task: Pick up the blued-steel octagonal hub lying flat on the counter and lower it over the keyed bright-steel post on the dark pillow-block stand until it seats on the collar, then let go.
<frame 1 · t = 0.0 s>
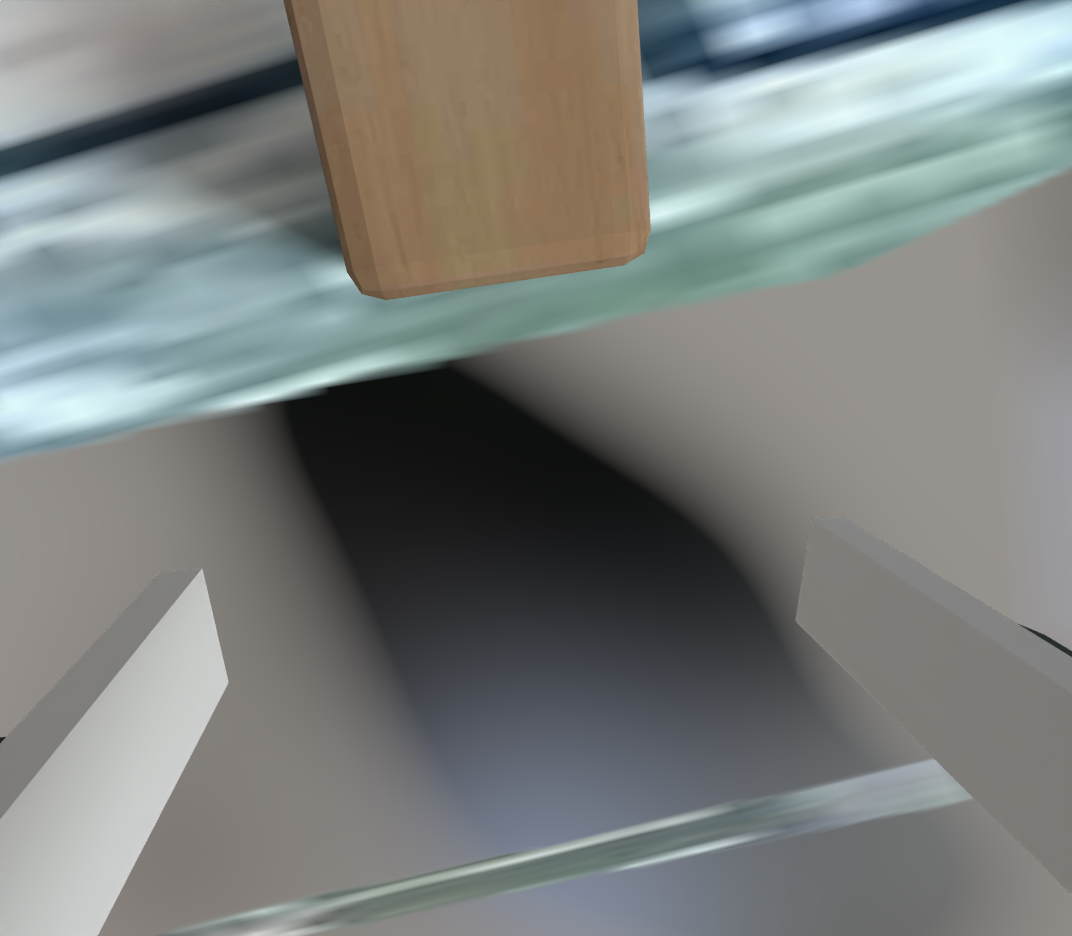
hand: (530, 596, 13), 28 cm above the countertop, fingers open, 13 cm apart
wooden block: (461, 191, 35), on the countertop
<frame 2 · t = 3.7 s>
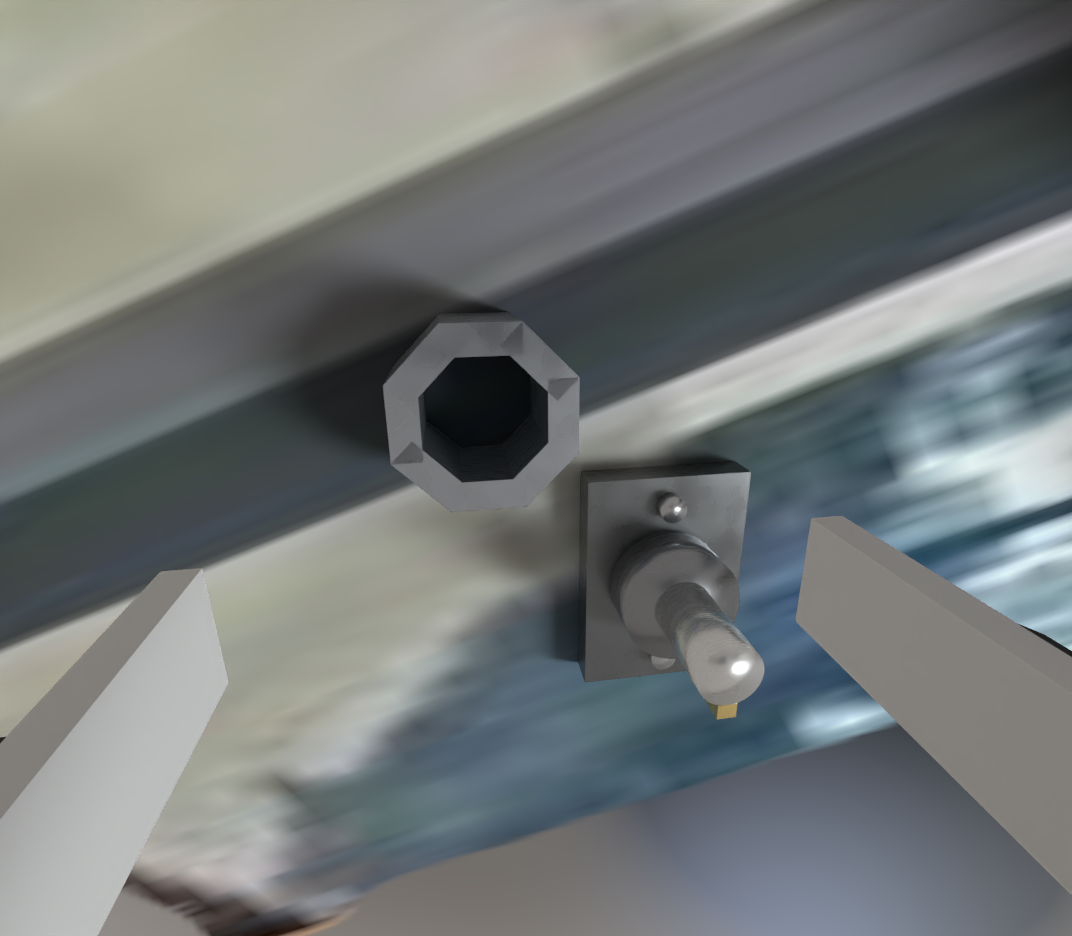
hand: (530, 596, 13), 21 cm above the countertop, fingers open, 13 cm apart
hub: (478, 394, 33), on the countertop
shaft stand: (653, 566, 38), on the countertop
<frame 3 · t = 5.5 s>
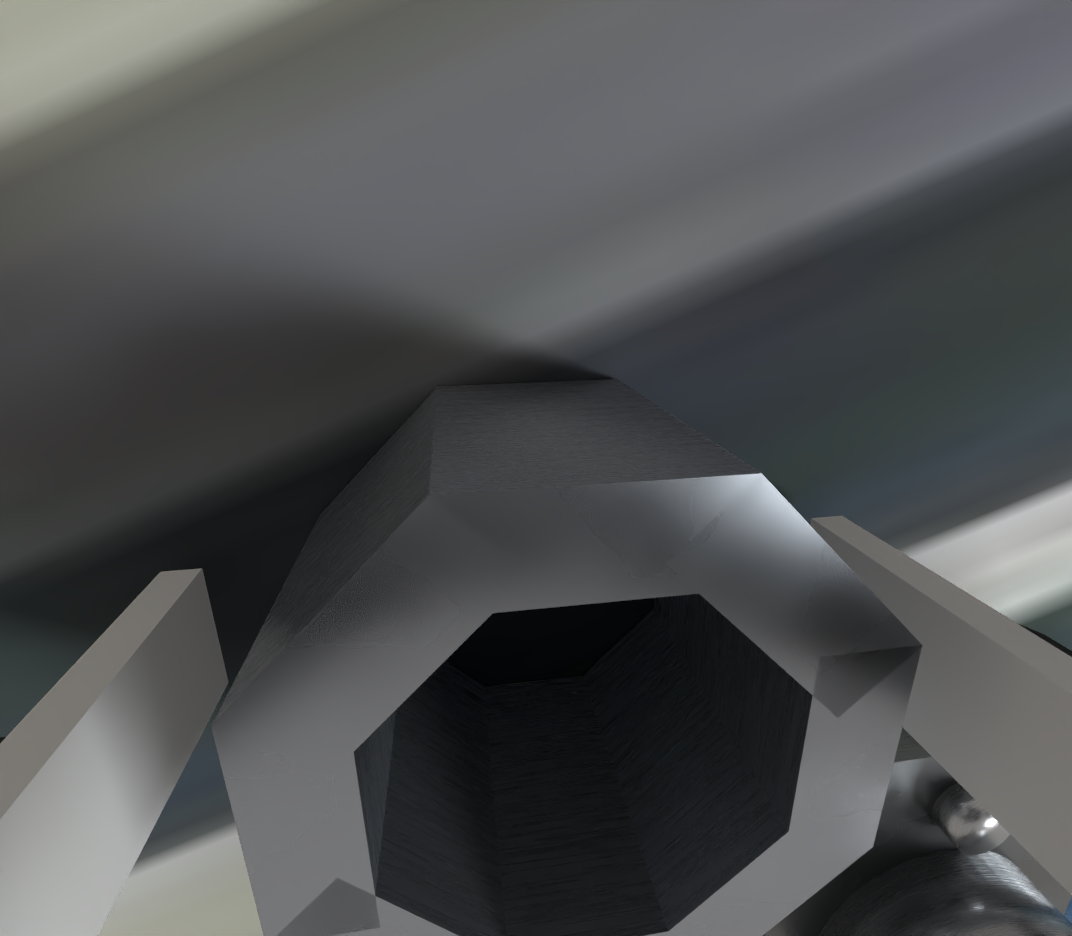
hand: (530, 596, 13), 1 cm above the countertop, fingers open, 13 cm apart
hub: (531, 574, 13), on the countertop
shaft stand: (871, 870, 19), on the countertop
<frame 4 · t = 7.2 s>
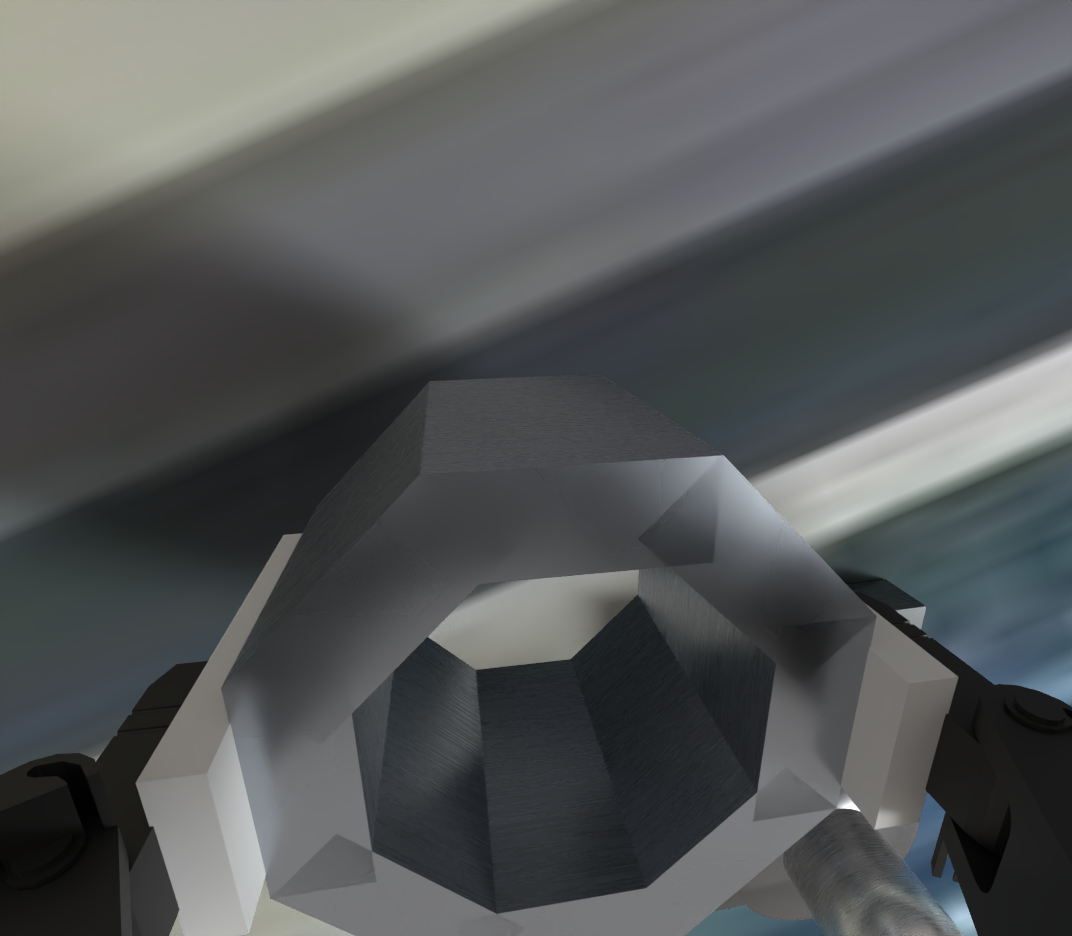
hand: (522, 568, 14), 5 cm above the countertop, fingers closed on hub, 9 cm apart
hub: (521, 561, 14), point 5 cm above the countertop, touching gripper
shaft stand: (751, 737, 24), on the countertop
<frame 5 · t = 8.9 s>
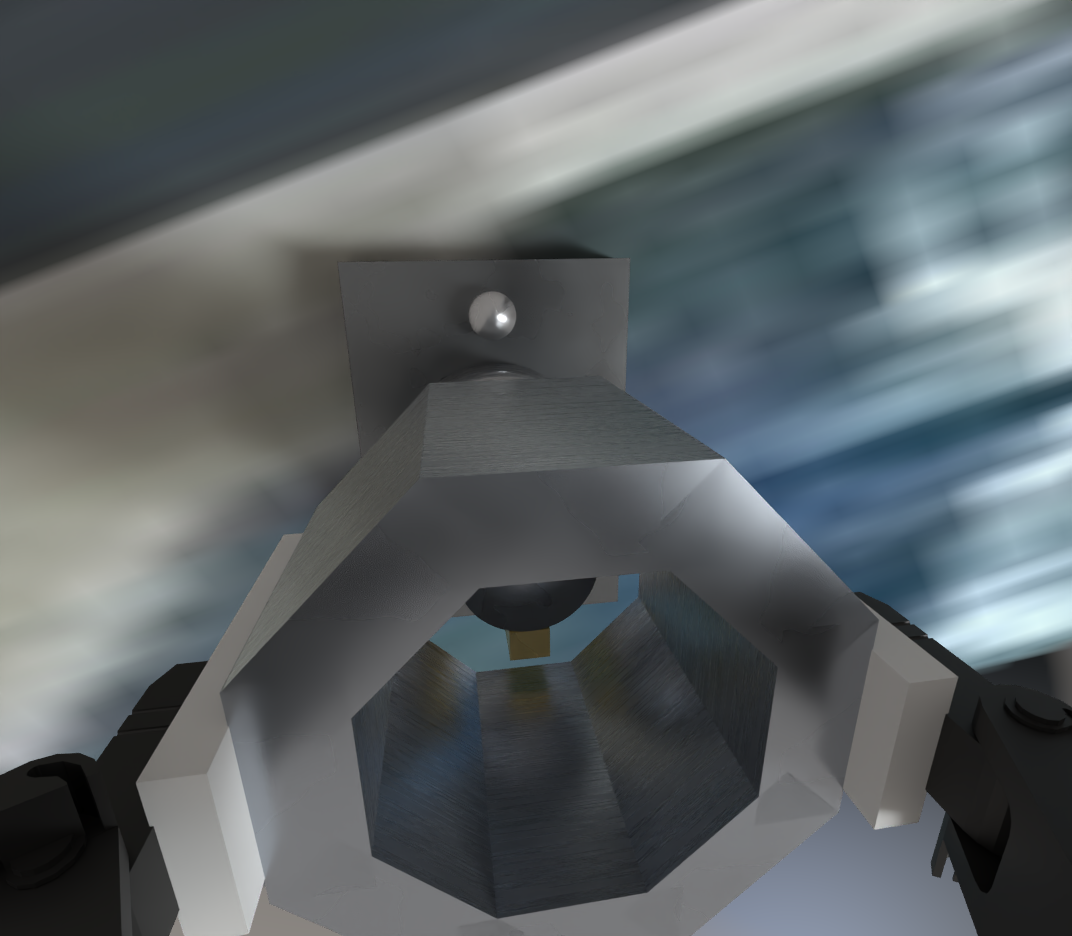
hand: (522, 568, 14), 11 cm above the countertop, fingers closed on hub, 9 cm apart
hub: (521, 564, 14), point 11 cm above the countertop, touching gripper
shaft stand: (492, 440, 24), on the countertop
when the fingers open (5 cm above the countertop, at t = 10.6 s): hub stays where it is, resting on shaft stand.
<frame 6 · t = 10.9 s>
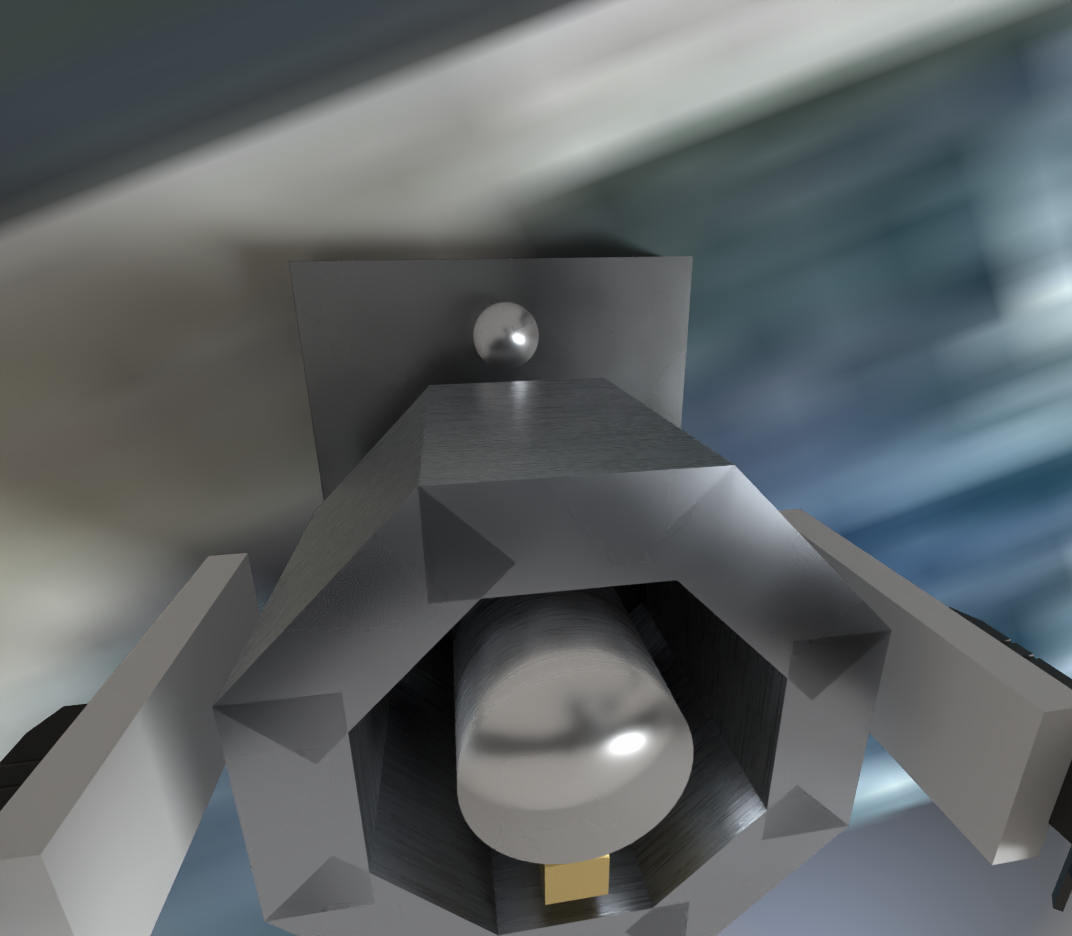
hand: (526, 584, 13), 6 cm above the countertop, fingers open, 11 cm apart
hub: (522, 568, 14), point 5 cm above the countertop, touching shaft stand
shaft stand: (502, 492, 18), on the countertop
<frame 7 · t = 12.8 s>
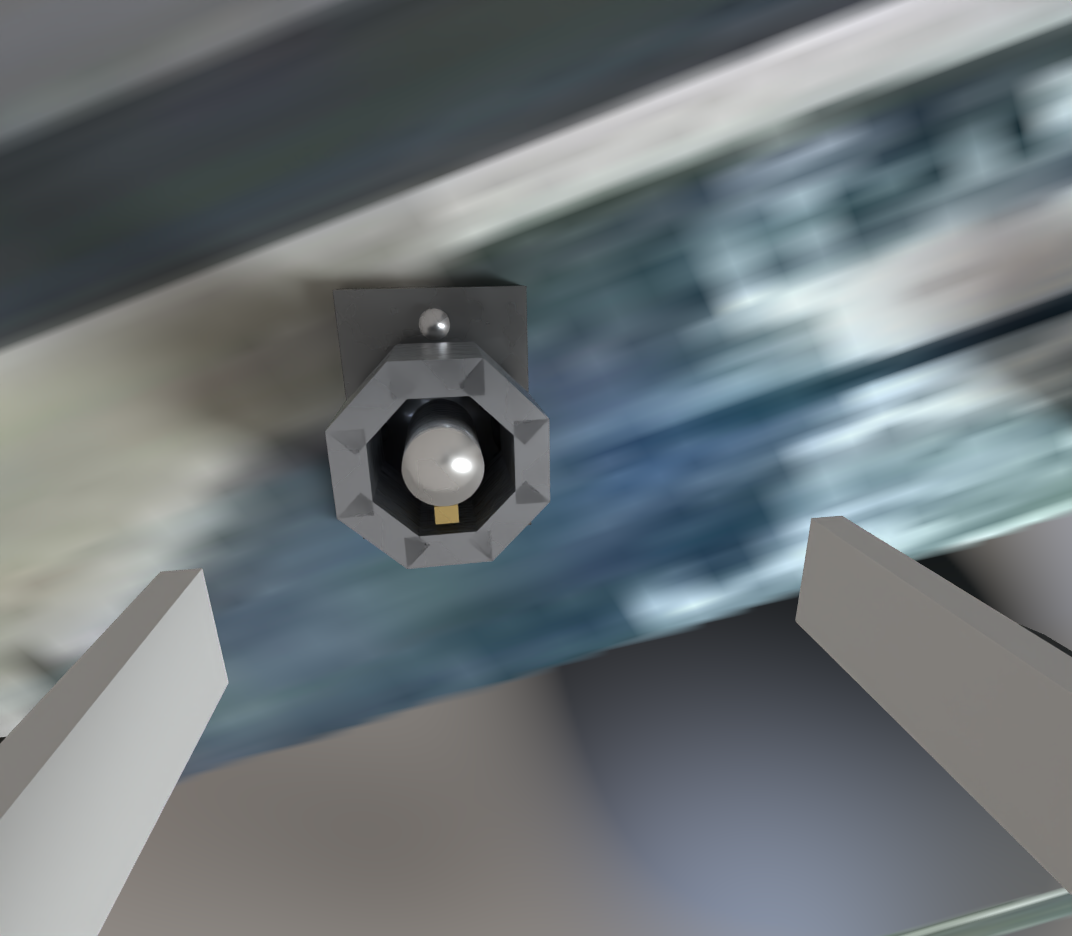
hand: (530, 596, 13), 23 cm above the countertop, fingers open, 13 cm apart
hub: (441, 431, 30), point 5 cm above the countertop, touching shaft stand
shaft stand: (440, 410, 34), on the countertop
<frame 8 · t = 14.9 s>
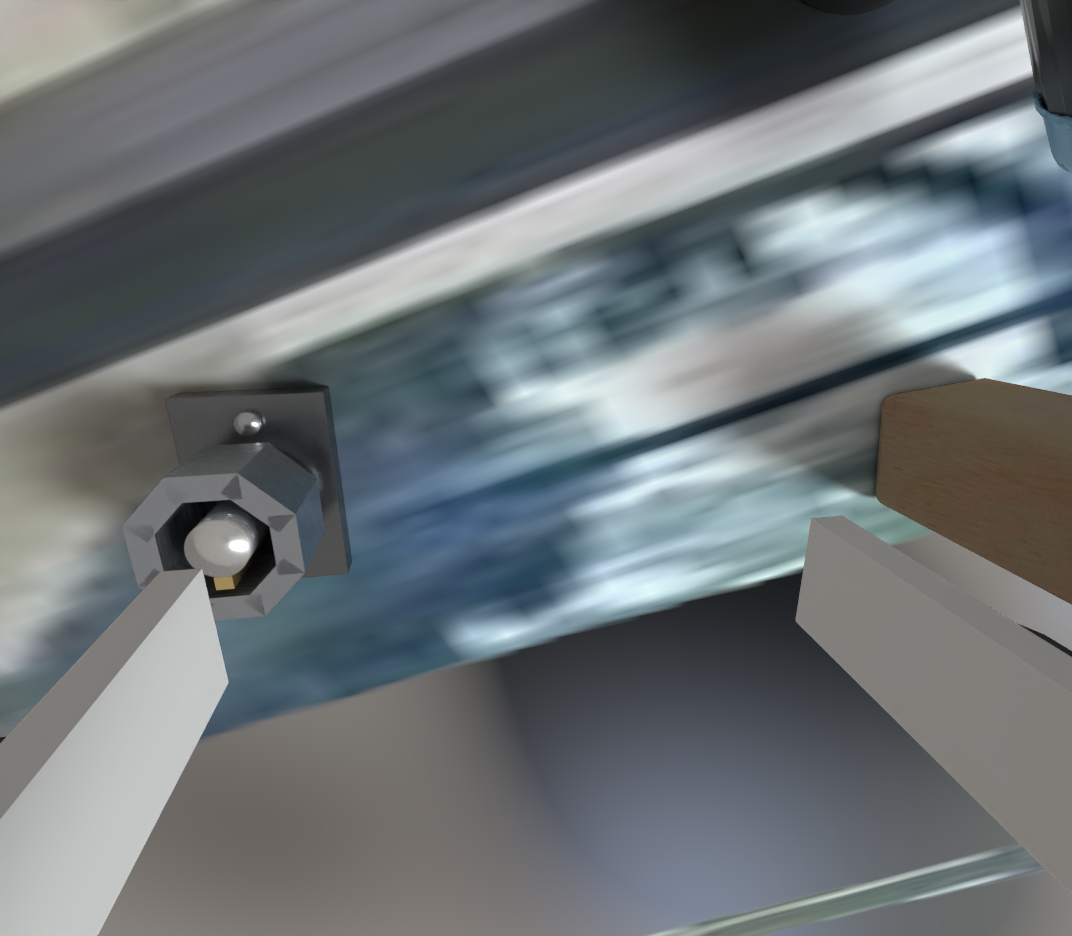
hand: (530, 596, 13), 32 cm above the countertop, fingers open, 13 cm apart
wooden block: (923, 439, 50), on the countertop
hub: (250, 509, 38), point 5 cm above the countertop, touching shaft stand
shaft stand: (271, 483, 43), on the countertop
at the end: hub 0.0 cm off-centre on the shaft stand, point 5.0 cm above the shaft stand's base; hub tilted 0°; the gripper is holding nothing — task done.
